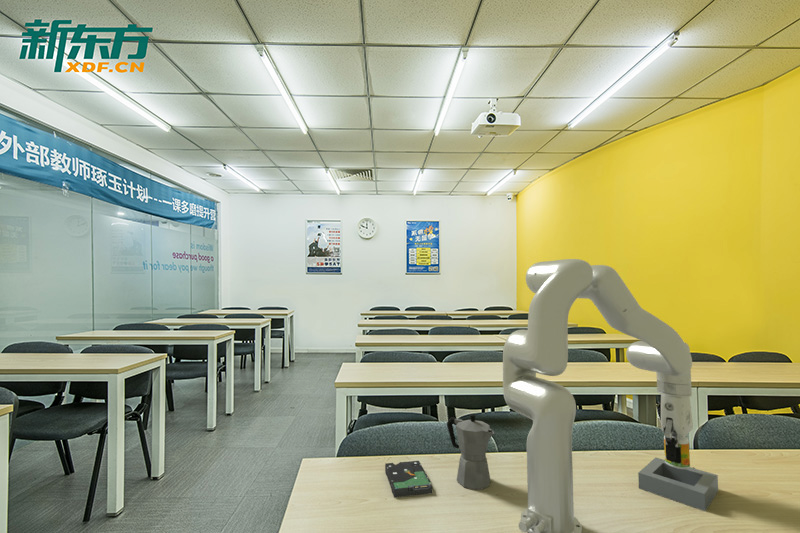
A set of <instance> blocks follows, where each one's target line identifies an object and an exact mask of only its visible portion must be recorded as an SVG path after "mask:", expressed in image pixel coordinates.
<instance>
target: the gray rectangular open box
mask: <svg viewBox="0 0 800 533" xmlns="http://www.w3.org/2000/svg"><path fill="white" fill-rule="evenodd" d="M637 474H638V475H637V476H638V489H640V490H643V491H645V492H649V493H651V494H654V495H657V496H660V497H663V498H666V499H668V500H672V501H675V502H678V503H681V504H683V505H686V506H689V507H692V508H694V509H697V510H700V511H703V512H706V511H707V509H708V508H709V507H710V505H711V503H712V502H713V500H714V498H715V497H716V495H717V494H718V492H719V479H718V478H719V476H718V474H715V473H711V472H707V471H704V470H702V469H698V468H695V467H691V466H690V468H689V469H677V468H674V467H671V466H669V465H667V464H666V462H665V459H663V458H660V457H656V456H655V457H654V458H653V459H652V460H650V462H649V463H647V465H645V466H644V467H643V468H642V469H641V470H639V472H638V473H637Z"/></svg>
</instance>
